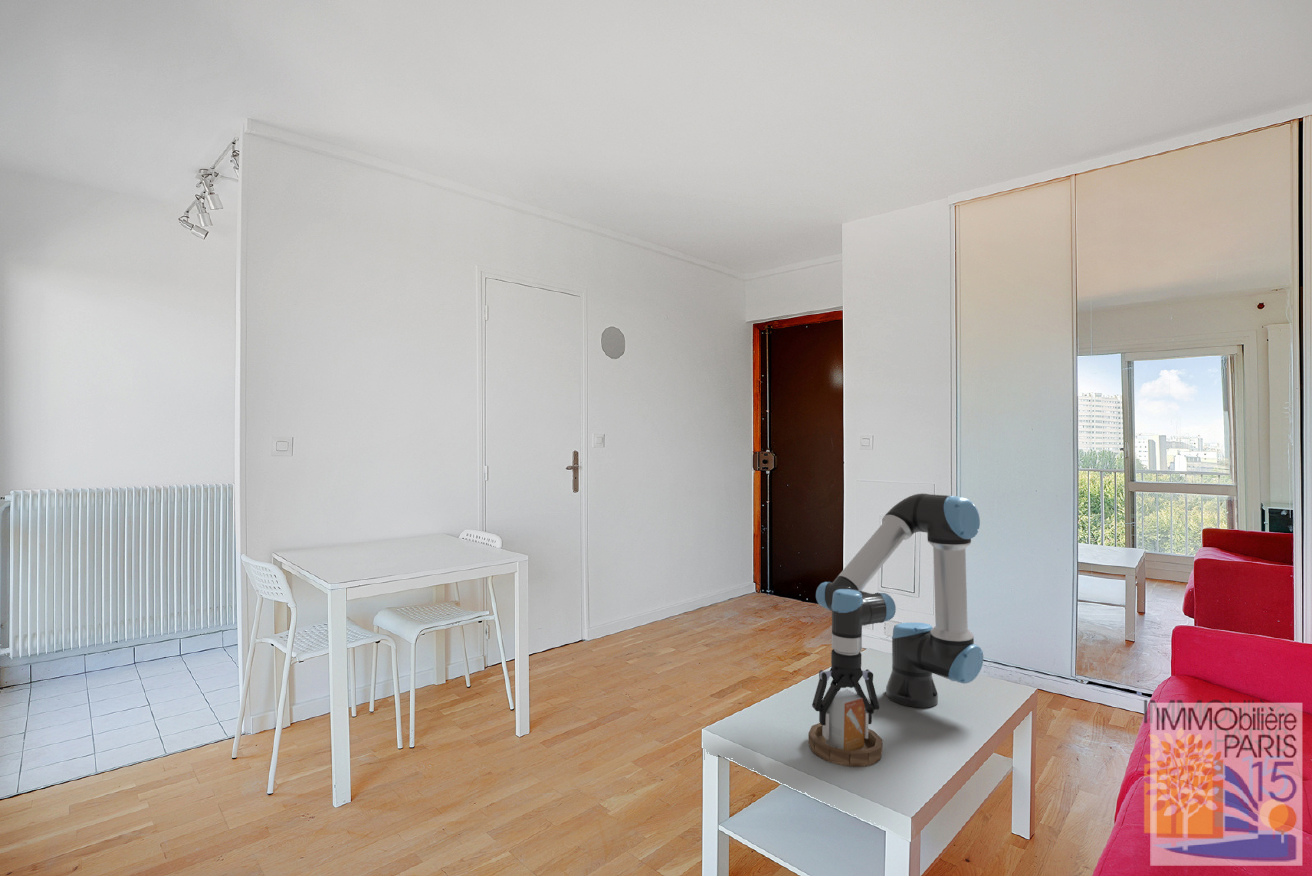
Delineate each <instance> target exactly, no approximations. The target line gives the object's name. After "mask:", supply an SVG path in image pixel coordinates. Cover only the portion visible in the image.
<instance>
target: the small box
mask: <svg viewBox="0 0 1312 876" xmlns="http://www.w3.org/2000/svg"><path fill="white" fill-rule="evenodd" d="M827 712H828V713H829V740H826V739H825V744H827V745H829V746H831V747H834V748H838V749H843V750H848V751H853V750H855V749H858V748H861V747H864V725H865V705H864V702H863V698H861V697H860V696H859V695H858V694H857V692H854V691H852V690H850V689H846V688H845V689H843V690H839V691H838V692H837V694H836V696H835V697H834V699H833V701H832V703H831V705H830V707H829V708H828V710H827Z"/></svg>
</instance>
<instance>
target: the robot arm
mask: <svg viewBox="0 0 1312 876" xmlns="http://www.w3.org/2000/svg"><path fill="white" fill-rule="evenodd" d="M881 523H882V524H880V526H879V527H878V528H877V529H876V530H875V532H874V533H873V534H872V535H871V536H870V538H869V539H868V541H866V543H864V545H863V546H862V547H861V548H860V549H859V551H858V552H857V553H856V554H855V556H854V557H853V558H852V559H851V560H850V561H849V563H848V564H846V566H845V567H844V568H843V569H842V571H841V572H840V573H839V574H838V575H837V576H836V578H835V579H834V580H833V581H824V582H821V583H820V584H819V585H818V586H817V588H816V591H815V599H816V602H817V605H819V606H820V607H822V608H823V609H827V610H828V611H830V612H831V655H830V657H831V660H830V661H831V662H830V665H831V667H830V669H829V670H827V671H824V670H823V669H821V670H819V671H818V676H819V679H818V683H817V686H816V690H815V693H814V698H813V701H812V704H811V705H812V708H813V709H814V710H815V711H816V712H819V713H818V714H819V715H818V716H819V717H818V719H819V720H818V723H820V724H821V725H823V728H822V735H823V736H824V737H825V739H826V740H829V713H828V712H827V710H828V708H829V707H830V705H831V703H832V701H833V699H834V697H835V696H836V694H837V692H839V691H841V689H844V688H845V689H846V688H850V689H852V688H854V690H855V693H857V694H858V695H859V696H860V697H861V698H863V702H864V705H865V725H864V737H865V739H867V738H868V729H869V725H872V722H873V721H872V720H873V717H872V716H873V714H874V712H875V710H876V711H879V710H880V704H879V701H878V700H879V699H878V697H877V692H876V689H875V685H874V673H873V672H872V671H870V669H864V670H862V653H861V652H862V650H863V648H862V645H863V643H862V641H863V640H862V637H863V627H864V626H867V625H873V624H880V623H881V624H882V623H884V622H888V621H890V620H892V619H893V618H894V617H895V615H896V610H897V609H896V607H897V606H896V603H895V601H894V599H893V598H892V596H891V595H890V594H888V593H885V592H875V593H870V592H866V591H863V590H864V588H865V587H866V586H867V585H868V584H869V583H870V582H871V580H872V579H873V578H874V576H875V575H876V574H877V573H878V572H879V570H880V569H881V568H882V567H883V565H884V564H885V563H886V562H887V560H888V559H889V558H890V557H891V555H892V554H893V553H894V552H895V550H897V548H899V546H900V545H901V543H902V542H903V541H904V540H905V541H906V540H909V539H911V537H912V536H913V535H914V534H916V533H920V532H921V533H926V534H927V542H928V543H929V544H930V545H931V546H932V547H933V549H932V550H933V574H934V575H933V581H934V582H933V583H934V584H933V585H934V613H935V614H934V618H935V620H934V621H935V626H934V627H933V626H932V625H931V624H930V623H929V624H928V623H924V622H901V623H897V624H895V625H894V626H893V628H892V637H891V640H892V642H891V644H892V645H891V650H892V651H891V652H892V653H891V654H892V655H891V656H892V657H891V660H892V661H891V662H892V663H891V664H892V666H891V673H890V676H889V678H888V680H887V684H886V686H885V687H886V688H885V696H886V697H887V698H888V699H889V700H891V701H892V702H895V703H896V704H899V705H902V706H905V707H912V708H921V709H922V708H924V709H925V708H931V707H935V706H936V705H937V704H938V703H939V694H938V690H937V687H936V684H935V680H934V678H933V675H934V674H935V675H936V676H939V677H942V678H945V679H948V680H950V681H951V682H956V683H960V684H964V685H965V684H969V683H972V682H973V681H974V680H975V679H976V678H977V677H978V676H979V674H980V672H981V670H982V667H983V665H984V664H983V663H984V651H983V650H982V647H980V646H979V645H978V644H975V643H974V641H975V640H974V634H973V633H972V632H971V631H970V630H969V628H968V597H967V596H968V595H967V593H968V592H967V563H966V561H967V560H966V559H967V558H966V554H967V553H966V548H967V547H968V546H970V544H971V543H972V539H973V538H975V537H976V536H977V535H978V533H979V529H980V525H981V520H980V513H979V511H978V508H977V507H976V505H975V504H974V503H973V501H971V500H969V499H968V498H966V497H960V496H956V495H944V494H931V493H930V494H929V493H917V494H913V495H909V496H908V497H906V498H904V499H902V500H901V501H899V502H897V503H896V504H895V505H894V506H892V507H891V509H889V510H888V512H886V514H885V515H884V516H883V517H882V520H881ZM830 677H831V679H832V680H831V682H830V685H829V688H828V690H827V691H826V689H827V685H828V681H829V680H830ZM861 678H863V679H864V681H865V682H864V683H865V686H866V690H867V694H868V697H869V700H868V698H867V697H866V695H865V692H864V690H863V689H862V686H861V684H860V682H859V681H860V680H861Z"/></svg>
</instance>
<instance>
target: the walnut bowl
mask: <svg viewBox="0 0 1312 876" xmlns="http://www.w3.org/2000/svg"><path fill="white" fill-rule="evenodd" d="M822 728H823V725H821V724H820V722H818V723H816V724H813V725H811V726H810V729H809V731H808V736H807V737H808V739H807V741H808V744H809V749H810V750H811V752H812V753H813V754H814V755H816V756H817V757H818V758H820V759H821V760H824V761H825V762H828V763H831V764H835V765H838V766H843V767H849V768H850V767H852V768H862V767H869V766H873V765H875V764H877V763H879V762H880V761H881V759H882V754H883V742H884V741H883V739H882V737H881V736H880V735H879V734H878V733H877V732H876V731H875V730H873V729H870V728H868V738H867V739H865V737H864V747H861V748H858V749H855V750H853V751H848V750H843V749H838V748H834V747H831V746H829V745H827V744H825V737H824V736H823V735H822Z"/></svg>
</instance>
